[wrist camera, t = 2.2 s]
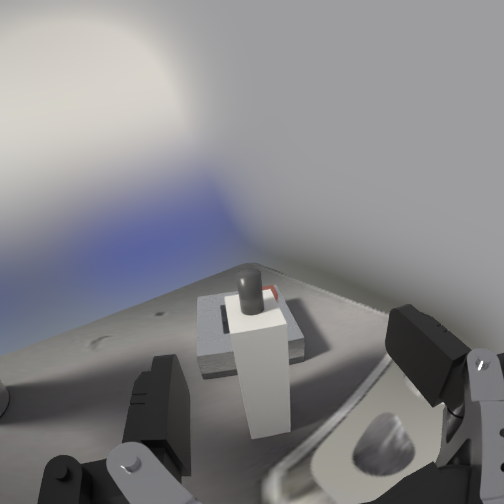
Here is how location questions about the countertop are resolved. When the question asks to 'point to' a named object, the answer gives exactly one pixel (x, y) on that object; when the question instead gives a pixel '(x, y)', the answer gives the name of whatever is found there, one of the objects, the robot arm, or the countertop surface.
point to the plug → (260, 355)
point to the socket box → (219, 340)
